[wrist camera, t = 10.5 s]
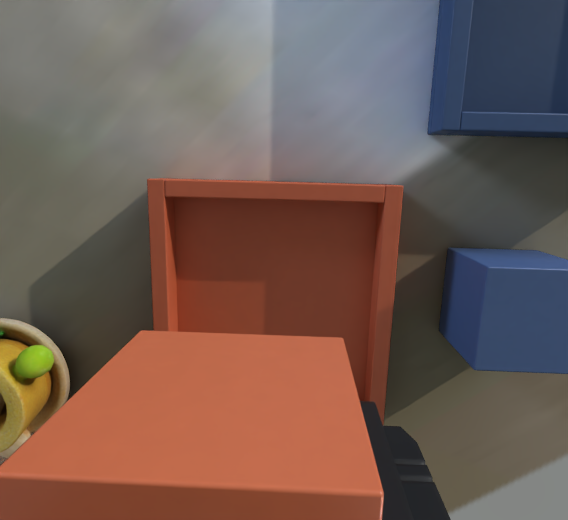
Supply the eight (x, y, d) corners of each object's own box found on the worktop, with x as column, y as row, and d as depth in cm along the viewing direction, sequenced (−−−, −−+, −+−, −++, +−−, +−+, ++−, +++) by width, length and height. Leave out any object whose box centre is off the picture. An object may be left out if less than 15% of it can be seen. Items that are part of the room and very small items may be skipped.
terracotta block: (148, 503, 10) (29, 762, 6) (139, 329, 9) (-13, 474, 5) (334, 512, 10) (360, 786, 5) (343, 337, 9) (385, 494, 4)
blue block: (438, 331, 22) (474, 370, 17) (447, 247, 21) (487, 266, 16) (524, 334, 21) (582, 375, 17) (537, 250, 21) (602, 270, 16)
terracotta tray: (169, 405, 23) (157, 427, 21) (161, 178, 20) (146, 178, 19) (375, 414, 23) (382, 436, 21) (393, 184, 20) (403, 185, 18)
